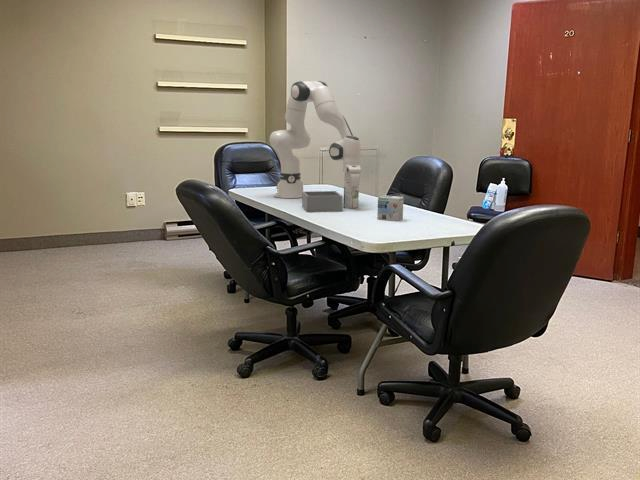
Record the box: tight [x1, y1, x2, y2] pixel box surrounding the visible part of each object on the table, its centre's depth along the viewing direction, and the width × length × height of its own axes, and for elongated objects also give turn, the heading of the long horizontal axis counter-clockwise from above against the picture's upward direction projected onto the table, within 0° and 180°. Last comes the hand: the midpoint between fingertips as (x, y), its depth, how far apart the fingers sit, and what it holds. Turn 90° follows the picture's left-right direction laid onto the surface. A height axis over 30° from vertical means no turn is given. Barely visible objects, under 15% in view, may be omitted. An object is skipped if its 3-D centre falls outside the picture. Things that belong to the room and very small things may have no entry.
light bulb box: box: [376, 194, 405, 222], centre depth 278 cm, size 11×7×11 cm, turn 62°
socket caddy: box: [301, 190, 343, 213], centre depth 306 cm, size 18×18×8 cm
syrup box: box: [342, 180, 360, 209], centre depth 310 cm, size 6×6×14 cm
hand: (351, 194), depth 310 cm, fingers closed on syrup box, 8 cm apart
